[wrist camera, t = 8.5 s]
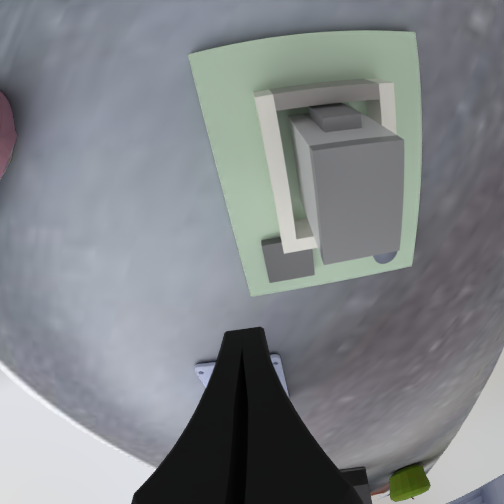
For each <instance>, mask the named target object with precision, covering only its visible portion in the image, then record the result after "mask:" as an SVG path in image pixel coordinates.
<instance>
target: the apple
mask: <svg viewBox="0 0 504 504" xmlns="http://www.w3.org/2000/svg"><path fill="white" fill-rule="evenodd" d="M389 480H390V498H391V500H393V501H395V502H397V501H401V500H406V499H409V498H412V499H414V498H413V497H414V496H417V495H419V494H422V493H424V492H426V491H427V490H429V488H430V482H429V480H428V478H427V477H426V475H425V472H424V469H423V466H420V465H417V464H414V465H410V466H408V467H405V468H403V469H401V470H399V471H397V472H395V473H394V474H393V475H392V476H391V477H390V479H389Z"/></svg>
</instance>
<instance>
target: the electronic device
mask: <svg viewBox="0 0 504 504" xmlns="http://www.w3.org/2000/svg"><path fill="white" fill-rule="evenodd" d="M340 471H341V472H342V474H343V475H344V476H345V477H346V478H347V479H348V480H349V481H350V482H351V484H352V486H353V487H354V489H355V490H356V492H357V493H358V495H359V496H360V498H361V499H362V501H363V503H364V504H372V500H371V495H370V489H369V484H368V479H367V474H366V469H365V468H364V467H360V468H353V469H345V470H340Z"/></svg>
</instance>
